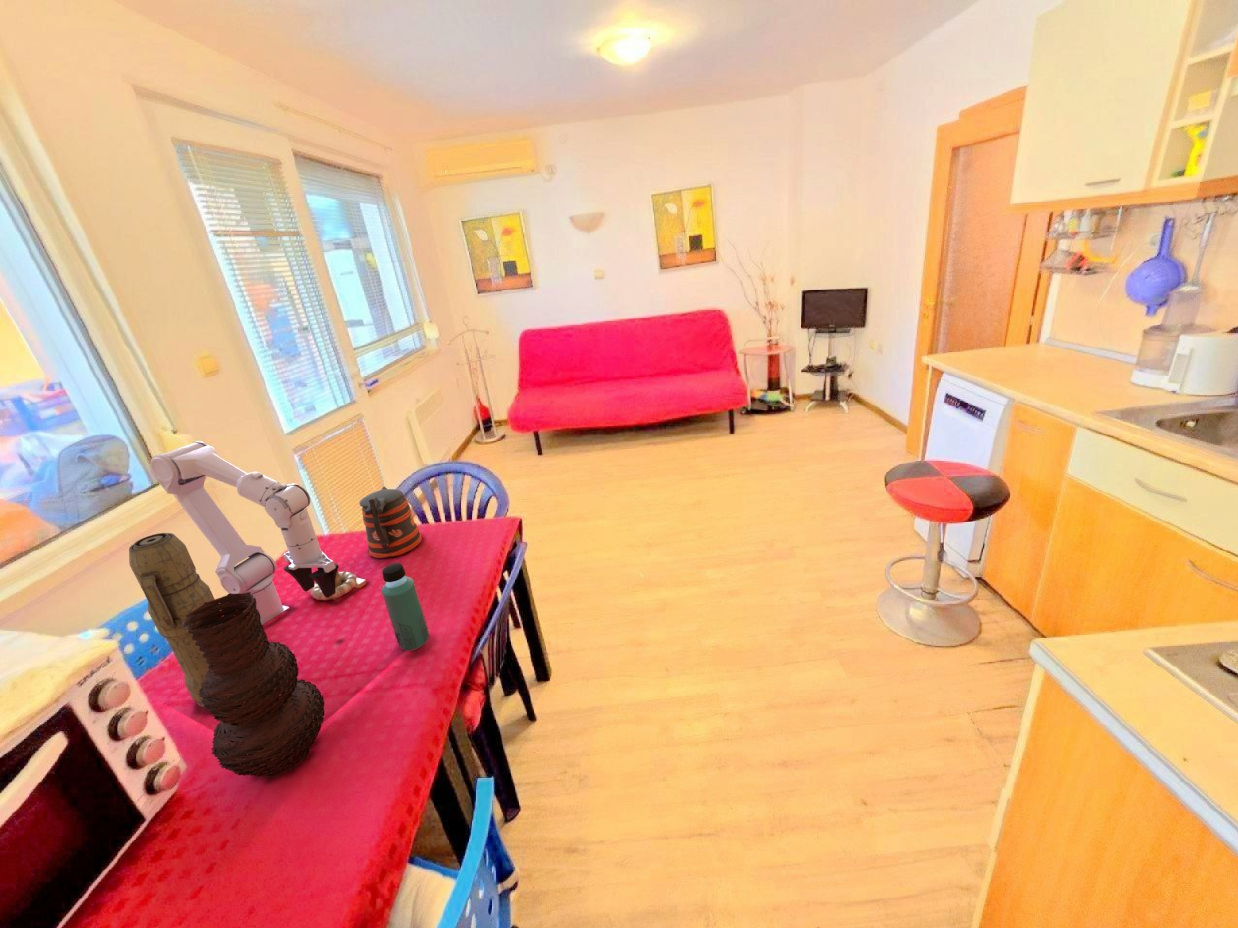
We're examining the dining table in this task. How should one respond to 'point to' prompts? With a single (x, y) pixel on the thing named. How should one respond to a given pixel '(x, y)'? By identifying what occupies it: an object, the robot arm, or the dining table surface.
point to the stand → (338, 581)
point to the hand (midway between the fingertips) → (320, 592)
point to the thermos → (172, 599)
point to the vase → (253, 690)
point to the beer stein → (389, 523)
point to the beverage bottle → (404, 608)
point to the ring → (340, 590)
